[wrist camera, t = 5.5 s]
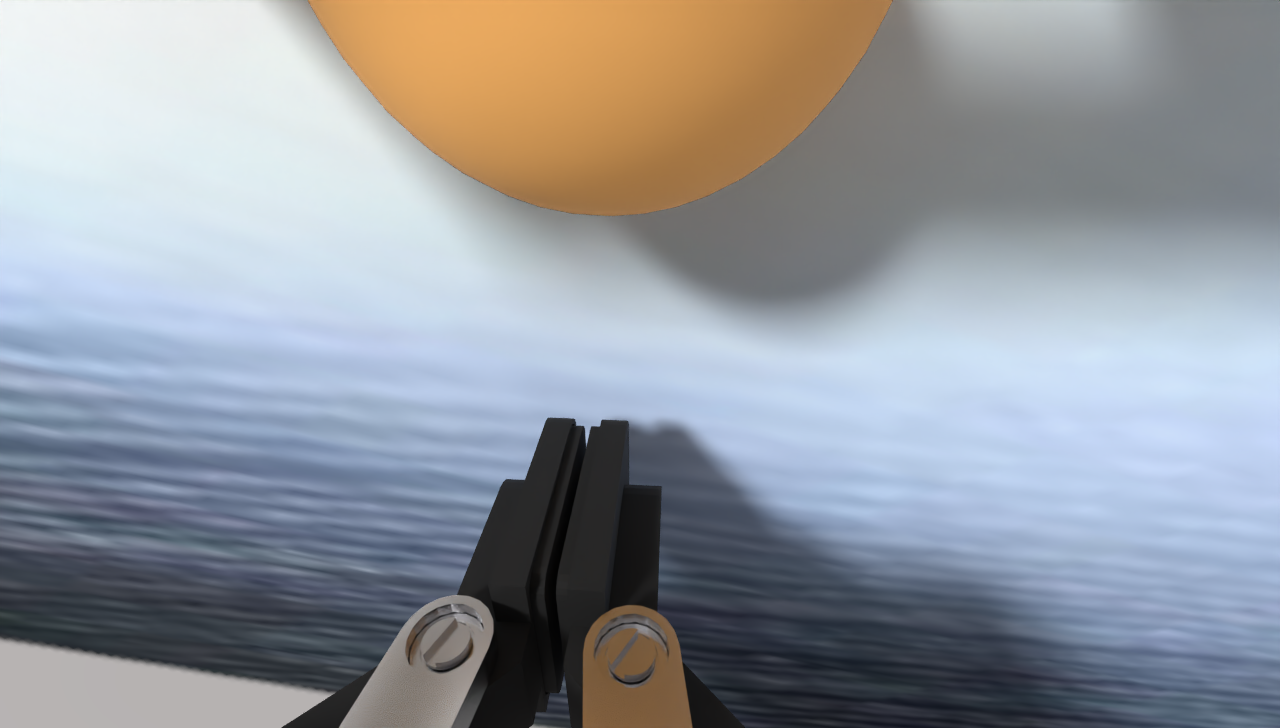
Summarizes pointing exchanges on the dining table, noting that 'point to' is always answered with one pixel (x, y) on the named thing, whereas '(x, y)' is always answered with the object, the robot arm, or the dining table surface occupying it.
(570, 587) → the robot arm
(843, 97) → the dining table surface
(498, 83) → the ball
